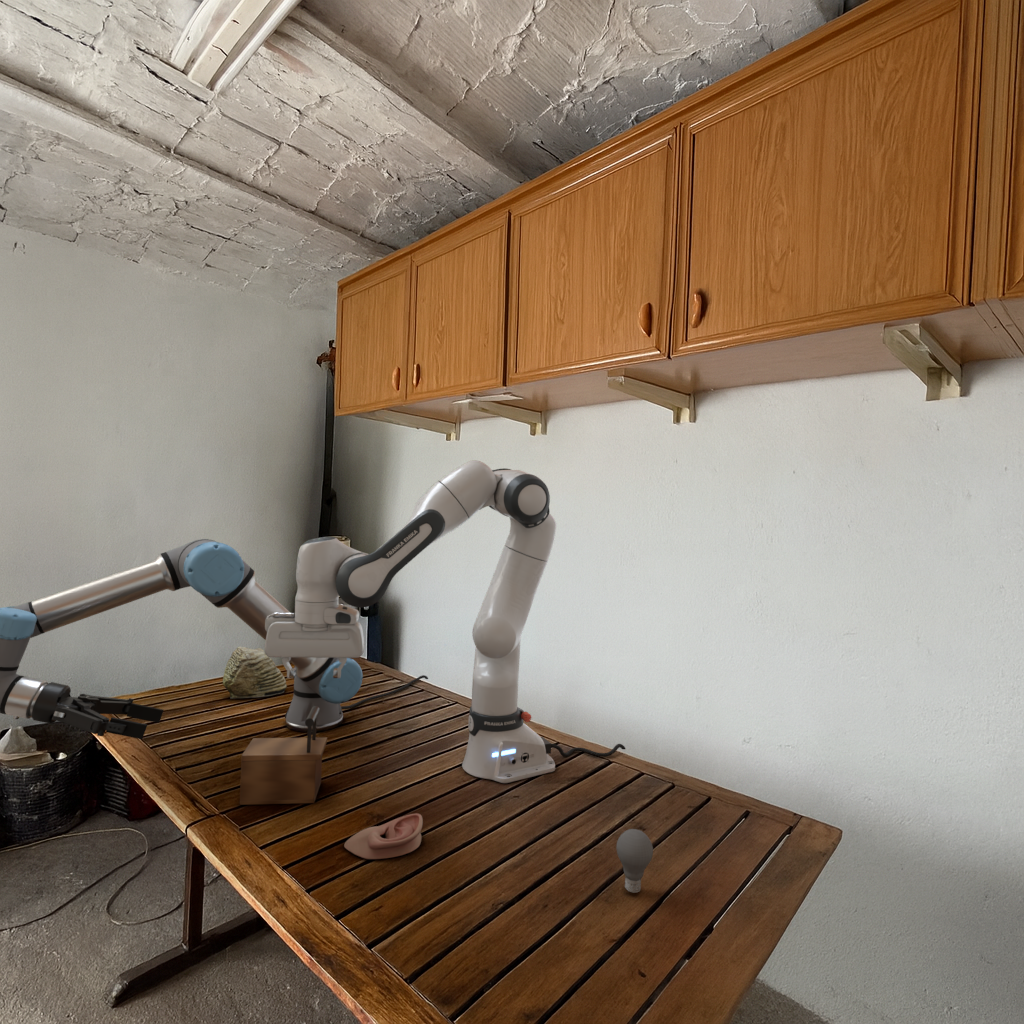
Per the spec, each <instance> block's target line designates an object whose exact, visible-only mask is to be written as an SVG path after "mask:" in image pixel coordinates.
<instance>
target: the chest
mask: <svg viewBox="0 0 1024 1024" xmlns="http://www.w3.org/2000/svg"><path fill="white" fill-rule="evenodd" d="M240 761H241V760H240ZM322 767H323V756H322V757H321V760H277V761H241V762H240V785H239V805H240V806H244V805H245V806H246V805H247V806H248V805H251V806H252V805H289V804H291V805H292V804H315V802H316V799H317V795H318V793H319V790H320V787H321V784H322V770H323V769H322Z"/></svg>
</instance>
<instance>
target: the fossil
mask: <svg viewBox="0 0 1024 1024" xmlns="http://www.w3.org/2000/svg"><path fill="white" fill-rule="evenodd" d="M264 650H265V649H263V648H260V647H258V648H251V647H247V646H246V647H245V646H238V647H237V648H236V649H235V650H233V651H232V653H231V656H230V657H229V659H228V660H227V663H226V666H225V668H224V671H223V675H222V676H223V677H222V685H223V687H224V688H225V690H226V691H228V693H229V698H230V699H250V698H264V697H271V696H275V695H281V694H284V693H285V691H286V689H287V687H288V686H287V680H286V678H285V676H284V674H283V673H282V672H281V669H279V668H278V667H277V665H276V663H275V662H274V660H273V659H272V657H268V656H267V655H266V654H265V652H264Z"/></svg>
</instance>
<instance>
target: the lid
mask: <svg viewBox="0 0 1024 1024" xmlns="http://www.w3.org/2000/svg"><path fill="white" fill-rule="evenodd" d="M319 711H320V709H319V707H317V706H314V707H312V709H311V711H310V713H309V715H308V717H307V719H306V721H305V725H306V726H308V732H306V733H307V735H306V737H253V738H252V740H251V741H250V742H249V744H247V746H246V748H245V749H244V751H243V752H242V754H241V757H240V759H241V760H240V761H277V760H321V757H322V758H323V754H324V751H325V749H326V746H327V743H328V737H326V736H324V737H317V732H316V723H317V716H318V713H319ZM312 726H313V731H312V732H311V730H312Z"/></svg>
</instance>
